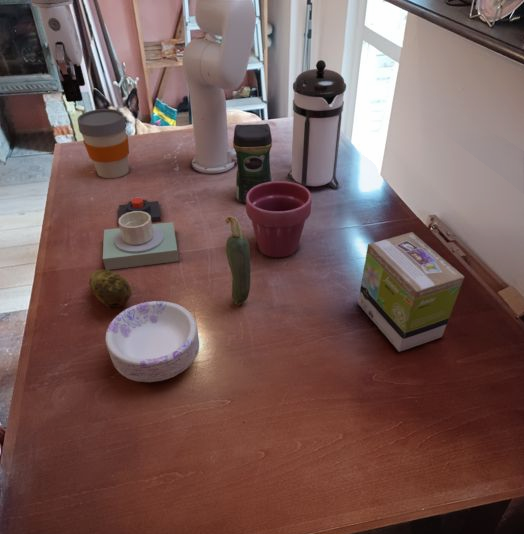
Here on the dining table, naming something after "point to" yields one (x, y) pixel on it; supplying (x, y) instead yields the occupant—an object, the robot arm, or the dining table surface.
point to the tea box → (408, 290)
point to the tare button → (137, 203)
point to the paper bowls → (152, 341)
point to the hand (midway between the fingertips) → (76, 93)
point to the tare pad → (143, 209)
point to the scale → (140, 248)
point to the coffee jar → (252, 157)
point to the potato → (110, 288)
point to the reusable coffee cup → (106, 141)
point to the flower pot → (278, 215)
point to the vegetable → (238, 261)
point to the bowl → (136, 227)
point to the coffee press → (316, 126)
